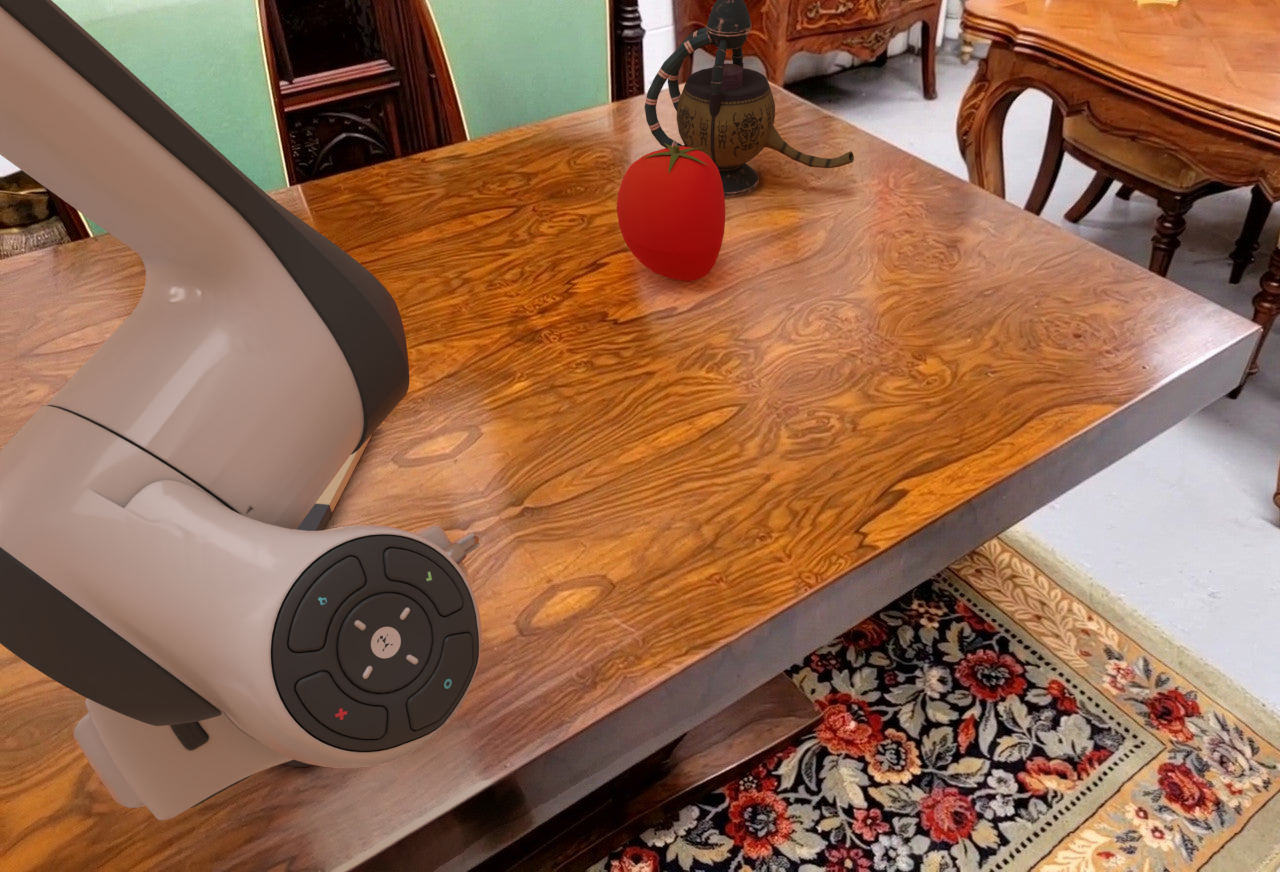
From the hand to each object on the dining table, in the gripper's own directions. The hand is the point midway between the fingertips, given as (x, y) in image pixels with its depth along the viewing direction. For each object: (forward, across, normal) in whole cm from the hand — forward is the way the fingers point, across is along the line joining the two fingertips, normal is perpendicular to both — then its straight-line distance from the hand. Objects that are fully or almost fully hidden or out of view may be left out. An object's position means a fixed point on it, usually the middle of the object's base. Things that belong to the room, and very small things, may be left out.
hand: (270, 649), depth 55 cm
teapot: (+29, -79, -17) cm, 86 cm away
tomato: (+23, -57, -11) cm, 63 cm away
